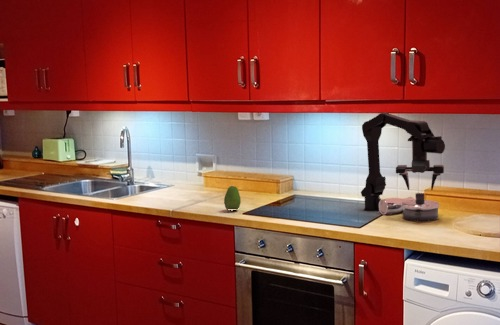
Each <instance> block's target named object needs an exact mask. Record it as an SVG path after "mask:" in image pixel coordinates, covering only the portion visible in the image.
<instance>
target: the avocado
mask: <svg viewBox="0 0 500 325" xmlns="http://www.w3.org/2000/svg"><path fill="white" fill-rule="evenodd" d="M223 201H224V202H223V204H224V207H225V210H227V209H238V208H240V207H241V202H242V200H241V196H240V192H239V189H238V187H237V186H233V185H231V186H228V188H227V190H226V193H225V195H224V200H223ZM238 210H239V209H238Z"/></svg>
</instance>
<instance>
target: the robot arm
mask: <svg viewBox="0 0 500 325" xmlns="http://www.w3.org/2000/svg"><path fill="white" fill-rule="evenodd" d="M389 113H390V112H381V113H379V114H377V115H376V116H374V117H372V118H371V119H369V120H368V121H367V120H366V121H364V122H363V124H361V125H362V126H361V129H362V130H361V131H362V134H363V137H364V139H365V140H366V146H367V166H368V167H367V168H368V175H367V177H366V180H365V186H364V188H362V190H361V191H360V194H361V197H363V198H364V209H363V211H376V212H377V211H379V212H380V210H379V202H380V200H382V198H381V197H380V196H383V194H384V190H385V189H386V186H387V184H386V183H387V182H386V176H383V175H382V174H381V164H380V146H379V142H380V141H379V140H380V138H381V135H382V130H383V128H384V127H386V125H389V126H393V127H396V128H398V129H399V128H400V129H402V130H404V131H405V132H406V133H407V134H408V135H410V137H409V138H407V142H411V148H412V149H411V151H412V153H411V154H412V157H411V159H412V161H411V166H407V164H398V165H397V166H396V167H395V174H398V175H399V176H401V177H402V178H403V180H404V182H405V185H406V188H407V190H408V191H410V180H409V172H412V173H414V174H416V173H421V174H423V173H425V172H432V176H431V177H432V178H431V186H430V187H431V191H433V190H434V186H435V183H436V179H437V178H438V177H439V176H441V174H444V173H445V166H444V164H433V166H430V165H431V164H430V163H431V162H430V159H428V156H427V155H428V154H439V155H440V154H443V153H444V151H445V149H446V144H445V142H444V140H443V139H442V136H435V134H434V133H433V131H432V129H431V128H430V127H429V123H428V122H427V121H425V120H413V119H412V120H411V119H407V118H404V117H401V116H398V115H395V114H391V113H390V114H389Z"/></svg>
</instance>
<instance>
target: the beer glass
mask: <svg viewBox="0 0 500 325" xmlns="http://www.w3.org/2000/svg"><path fill="white" fill-rule="evenodd" d="M408 200H416V198H414V197H413V196H408V197H405V198H404V197H403V198H400V197H389V198H384V199H383V198H381V200H380V202H379V212H380V213H381V215H385V216H386V215H394V214H398V213H403V207H401V203H402V202H404V201H408Z"/></svg>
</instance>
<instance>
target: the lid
mask: <svg viewBox="0 0 500 325" xmlns="http://www.w3.org/2000/svg"><path fill="white" fill-rule="evenodd" d="M401 207H403V208H405V209H411V210H431V209H436V208H438V209H439V208H440V203H439V202H438V201H435V200H431V199H425V193H424V192H417V193H415V200H408V201H404V202H402V203H401Z"/></svg>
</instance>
